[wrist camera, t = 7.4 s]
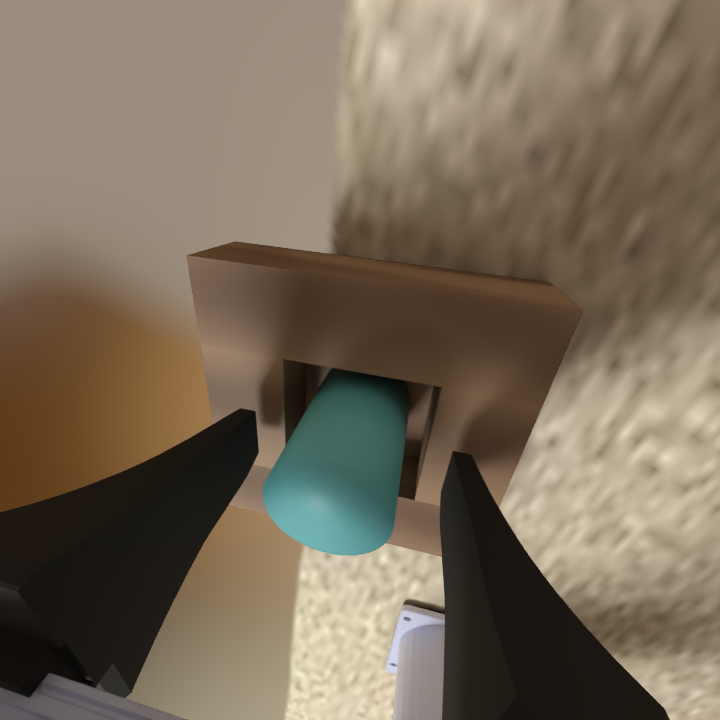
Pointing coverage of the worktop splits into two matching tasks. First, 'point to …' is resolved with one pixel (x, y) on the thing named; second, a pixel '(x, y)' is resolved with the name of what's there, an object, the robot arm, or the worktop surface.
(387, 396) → the teal pin
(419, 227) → the worktop surface
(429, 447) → the socket block
